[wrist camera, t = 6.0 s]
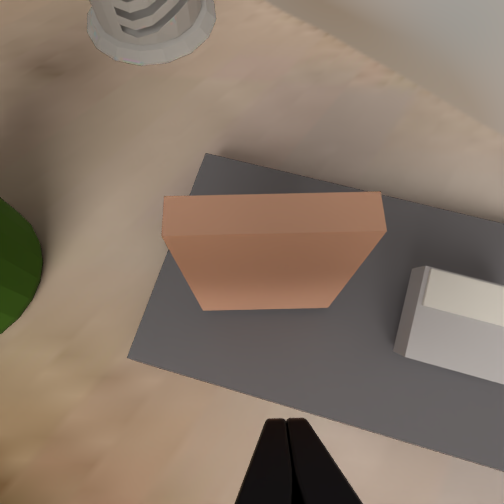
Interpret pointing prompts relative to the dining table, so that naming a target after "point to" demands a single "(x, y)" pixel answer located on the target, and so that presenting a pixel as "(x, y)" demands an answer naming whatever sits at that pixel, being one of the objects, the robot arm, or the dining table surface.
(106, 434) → the dining table surface
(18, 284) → the wine bottle
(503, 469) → the control console
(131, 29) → the french press
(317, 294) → the tan rectangular board
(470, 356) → the rocker switch
